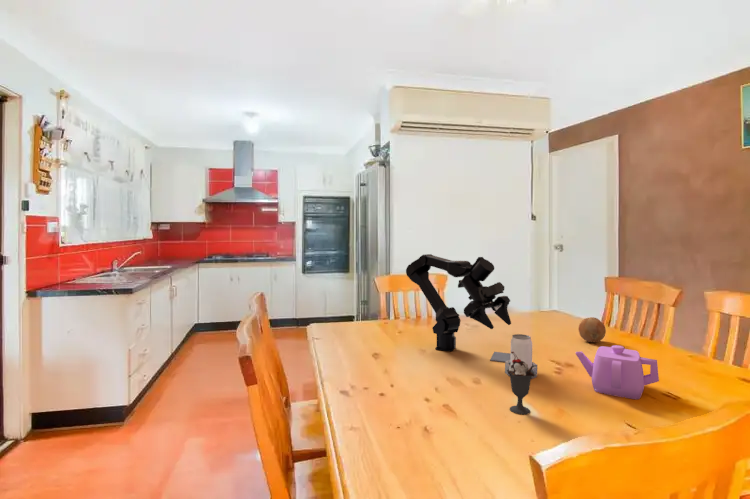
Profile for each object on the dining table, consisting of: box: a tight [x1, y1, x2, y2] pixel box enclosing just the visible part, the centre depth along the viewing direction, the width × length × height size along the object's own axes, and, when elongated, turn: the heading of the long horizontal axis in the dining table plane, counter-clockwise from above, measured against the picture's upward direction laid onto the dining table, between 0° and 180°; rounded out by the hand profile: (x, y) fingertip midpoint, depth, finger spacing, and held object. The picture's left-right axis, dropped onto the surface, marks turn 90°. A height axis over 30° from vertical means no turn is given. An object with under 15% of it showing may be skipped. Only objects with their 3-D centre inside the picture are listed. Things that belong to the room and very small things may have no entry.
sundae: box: [507, 351, 534, 416], centre depth 105 cm, size 7×7×15 cm
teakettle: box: [575, 344, 660, 400], centre depth 119 cm, size 17×17×12 cm
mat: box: [489, 351, 511, 363], centre depth 147 cm, size 10×10×1 cm
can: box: [510, 333, 533, 368], centre depth 132 cm, size 6×6×12 cm
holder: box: [504, 360, 538, 380], centre depth 132 cm, size 10×10×3 cm
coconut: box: [578, 317, 607, 343], centre depth 167 cm, size 10×10×10 cm
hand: (501, 326), depth 137 cm, fingers open, 9 cm apart
